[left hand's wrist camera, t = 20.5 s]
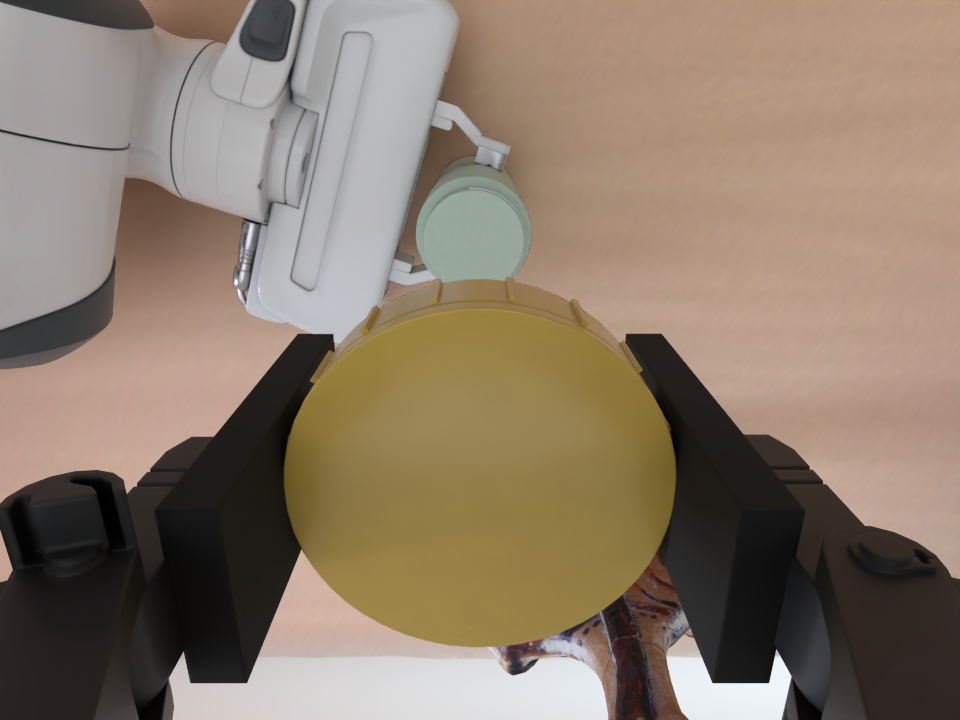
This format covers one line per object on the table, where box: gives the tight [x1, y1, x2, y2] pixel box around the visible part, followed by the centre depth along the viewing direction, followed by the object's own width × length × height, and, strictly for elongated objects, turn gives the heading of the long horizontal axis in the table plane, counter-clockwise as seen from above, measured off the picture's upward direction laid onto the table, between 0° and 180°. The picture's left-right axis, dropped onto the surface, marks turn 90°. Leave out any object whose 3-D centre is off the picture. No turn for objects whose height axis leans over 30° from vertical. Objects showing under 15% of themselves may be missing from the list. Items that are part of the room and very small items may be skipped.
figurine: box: [485, 550, 694, 720], centre depth 37 cm, size 15×8×30 cm, turn 112°
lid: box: [284, 277, 677, 647], centre depth 11 cm, size 6×6×2 cm
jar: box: [416, 156, 532, 283], centre depth 37 cm, size 6×6×16 cm
